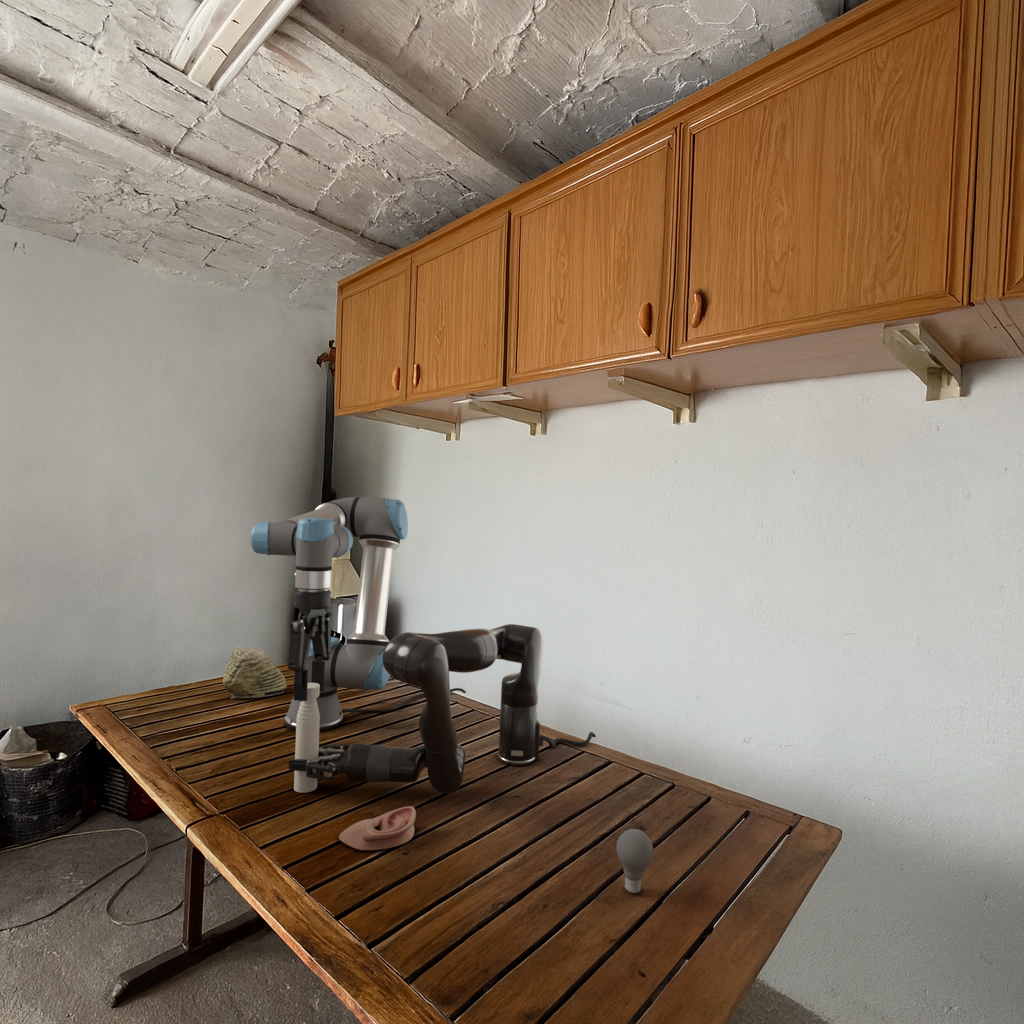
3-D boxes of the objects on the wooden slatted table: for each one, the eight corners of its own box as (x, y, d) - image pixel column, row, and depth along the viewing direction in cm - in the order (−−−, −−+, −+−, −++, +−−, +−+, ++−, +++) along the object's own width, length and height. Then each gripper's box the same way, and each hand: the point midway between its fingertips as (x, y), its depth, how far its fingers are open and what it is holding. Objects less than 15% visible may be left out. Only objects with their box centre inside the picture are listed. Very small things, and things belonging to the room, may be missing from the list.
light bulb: (610, 879, 108) (613, 822, 108) (644, 879, 109) (647, 822, 109) (619, 902, 102) (622, 840, 102) (655, 901, 103) (658, 840, 103)
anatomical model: (331, 824, 115) (359, 795, 126) (330, 845, 115) (358, 815, 126) (400, 835, 112) (422, 805, 124) (399, 857, 112) (421, 825, 124)
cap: (323, 696, 137) (323, 686, 137) (303, 700, 134) (304, 689, 134) (313, 692, 140) (314, 681, 140) (295, 695, 137) (295, 684, 137)
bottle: (304, 780, 141) (308, 683, 140) (321, 785, 139) (325, 687, 138) (289, 789, 136) (292, 689, 136) (306, 794, 134) (310, 693, 134)
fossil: (218, 695, 195) (220, 647, 195) (278, 685, 208) (279, 640, 207) (228, 703, 189) (230, 653, 188) (289, 692, 201) (290, 645, 201)
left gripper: (319, 582, 147) (315, 681, 148) (271, 594, 128) (267, 707, 128) (349, 584, 146) (345, 684, 146) (305, 596, 126) (300, 711, 127)
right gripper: (380, 733, 144) (306, 730, 145) (364, 759, 130) (282, 755, 130) (379, 766, 144) (304, 762, 145) (363, 795, 130) (280, 791, 130)
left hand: (309, 694), depth 137 cm, fingers open, 6 cm apart
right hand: (294, 759), depth 137 cm, fingers closed on bottle, 5 cm apart
